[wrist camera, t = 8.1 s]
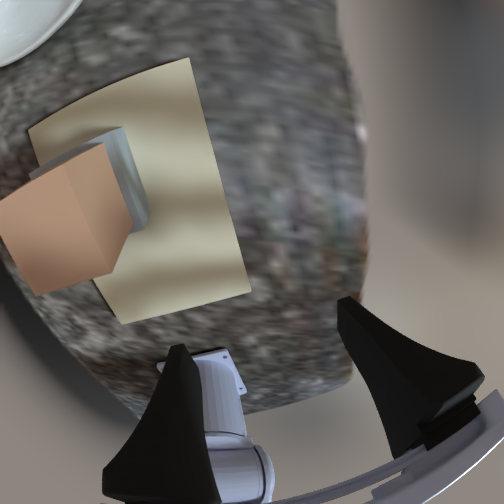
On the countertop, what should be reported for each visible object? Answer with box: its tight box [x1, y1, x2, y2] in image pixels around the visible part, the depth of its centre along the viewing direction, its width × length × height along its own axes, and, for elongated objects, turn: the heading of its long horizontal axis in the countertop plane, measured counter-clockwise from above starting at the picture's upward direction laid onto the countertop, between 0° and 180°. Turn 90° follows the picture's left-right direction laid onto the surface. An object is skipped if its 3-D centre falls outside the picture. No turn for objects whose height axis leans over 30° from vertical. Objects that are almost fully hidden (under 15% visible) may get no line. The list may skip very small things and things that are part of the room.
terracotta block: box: [0, 143, 133, 296], centre depth 11 cm, size 5×5×5 cm
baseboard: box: [28, 58, 251, 324], centre depth 17 cm, size 18×12×4 cm, turn 12°
